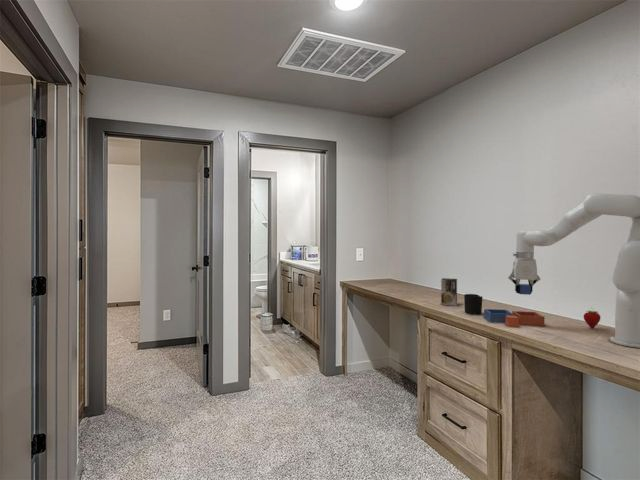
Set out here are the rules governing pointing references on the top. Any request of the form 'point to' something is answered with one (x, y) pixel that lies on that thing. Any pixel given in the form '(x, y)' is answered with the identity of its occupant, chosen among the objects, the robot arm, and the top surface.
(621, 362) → the top surface
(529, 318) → the terracotta bin
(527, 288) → the blue block
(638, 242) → the robot arm
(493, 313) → the blue bin
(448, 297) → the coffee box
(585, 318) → the strawberry
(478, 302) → the pen holder
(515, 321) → the terracotta block
